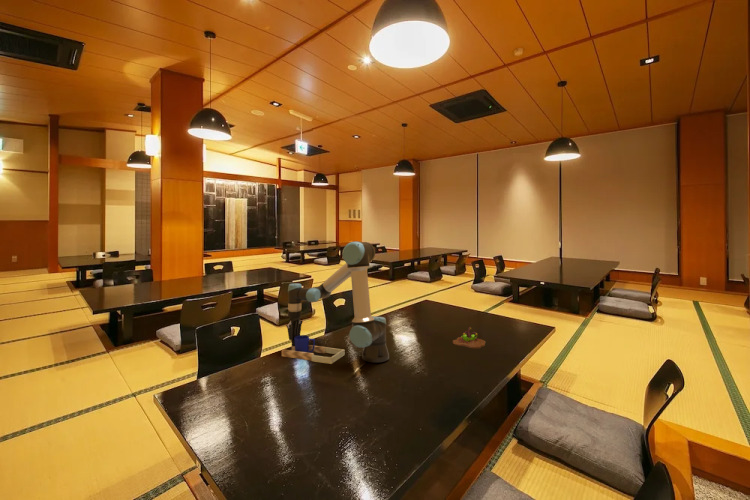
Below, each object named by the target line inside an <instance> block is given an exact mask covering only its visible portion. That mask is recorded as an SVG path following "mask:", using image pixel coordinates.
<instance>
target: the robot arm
mask: <svg viewBox="0 0 750 500" xmlns="http://www.w3.org/2000/svg"><path fill="white" fill-rule="evenodd" d="M341 255H342V259H343V261H344V264H343V265H342V266H341V267H340V268H339V269H337V270H336V271H335V272H334V273H333V274H331V275H330V276H329V277H328V278H327V279H326V280H324V281H323V282H322V283H321V284H320V285H319V286H312V287H303V285H302V284H301V283H299V282H297V283H289V284H288V289H287V300H288V301H287V305H288V306H287V309H288V311H287V317H288V318H289V321H288V324H287V323H286V328H287V334H288V339H289V341H291V350H293V351H295V341H294V337H296V336H299V335H301V331H302V325H303V320H301V317H302V302H308V303H309V302H310V303H314V302H315V303H316V302H318V301H319V300H322V299H327V298H329V297H330V296H331V294H332V293H333V292H334V291H335V290H336V289H337V288H338V287H340V286H341V285H342V284H343V283H345V282H346V281H347V280H348V279H349V278H350V281H351V289H352V290H351V291H352V300H353V301H352V302H353V313H354V318H353V319H352V320H351V323H352V324H351V326H352V327H351V328H350V330H349V334H348V335H349V339H350V342H351V343H352V344H353V346H355V347H357V348H359V349H361V348H362V353H361V359H362V360H363V361H365V362H368V363H383V362H387V361H388V360H389V359H390V353H389V350H388V347H387V319H386V317H384V316H373V315H372V311H371V310H372V309H371V299H370V291H369V290H370V289H369V277H368V276H369V275H368V269H370V267H371V266H370V263H371V262H372V261H373V260H374V259H375V257H376V249H375V247H374V246H373V245H372V244H371V243H370V242H366V241H352V242H349V243H347V244H346V245H345V246H344V247H343V249H342V254H341Z"/></svg>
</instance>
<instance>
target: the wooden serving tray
mask: <svg viewBox="0 0 750 500" xmlns="http://www.w3.org/2000/svg"><path fill="white" fill-rule="evenodd" d="M325 348H326V346H322V345H321V346H320V345H315V346H314V350H313V351H312V349H313V344H309V347H308V350H309V351H312V352H300V351H293V350H292V349H285V348H284V349H283V348H282V349H281V357H285V358H290V359H292V358H293V359H300V360H306V361H312V355H315V353H319V354H326V353H325Z"/></svg>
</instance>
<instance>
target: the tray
mask: <svg viewBox="0 0 750 500" xmlns="http://www.w3.org/2000/svg"><path fill="white" fill-rule="evenodd" d="M345 351H346V350H345V349H343V348H334V347H326V346H325V353H324V354H326V353H327V354H332V356H323V355H316V354H314V355H312V360H311V362H316V363H323V364H330V365H332V364H334V363H335V362H336V361H338V360H340V359H341V358H342V357H343V356H345V353H346V352H345Z"/></svg>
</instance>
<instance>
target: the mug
mask: <svg viewBox="0 0 750 500" xmlns="http://www.w3.org/2000/svg"><path fill="white" fill-rule="evenodd" d="M294 341H295V351H300V352H308V353H313V352H312V351H313V350H314V346H316V344H315V343H316V339H315V338H310V336H309V335H307V334H306V335H305V334H302V335H301V334H300V335H299V336H296V337H294ZM310 341H313V343H312V345H313V349H312V351H309V350H308V347H309V345H310V344H309V343H310Z"/></svg>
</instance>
